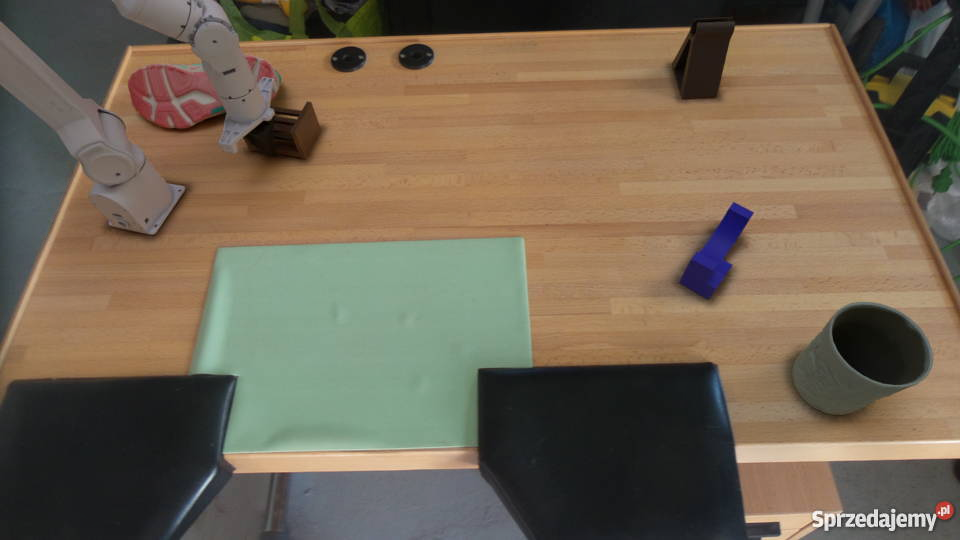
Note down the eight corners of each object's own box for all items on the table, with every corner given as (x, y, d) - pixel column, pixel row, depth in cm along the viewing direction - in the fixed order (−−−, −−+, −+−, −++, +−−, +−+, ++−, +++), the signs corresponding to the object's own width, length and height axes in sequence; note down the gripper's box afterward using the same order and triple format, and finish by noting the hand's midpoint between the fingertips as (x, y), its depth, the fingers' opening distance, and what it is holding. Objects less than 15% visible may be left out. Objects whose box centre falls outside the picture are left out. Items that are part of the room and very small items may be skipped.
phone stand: (671, 65, 103) (690, 3, 93) (704, 64, 103) (727, 2, 93) (681, 99, 98) (702, 38, 88) (716, 98, 98) (741, 37, 88)
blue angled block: (708, 300, 77) (723, 277, 72) (679, 282, 79) (691, 258, 74) (748, 243, 82) (764, 217, 77) (719, 227, 83) (733, 201, 78)
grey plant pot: (885, 386, 70) (951, 345, 60) (841, 440, 67) (903, 407, 57) (811, 330, 74) (861, 284, 64) (766, 379, 71) (811, 338, 61)
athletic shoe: (300, 93, 103) (270, 25, 99) (284, 98, 94) (251, 23, 90) (170, 141, 106) (136, 76, 101) (142, 149, 97) (104, 79, 93)
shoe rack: (305, 159, 93) (294, 132, 88) (249, 150, 94) (235, 123, 89) (321, 129, 96) (311, 101, 91) (266, 121, 98) (254, 93, 93)
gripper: (237, 125, 77) (271, 190, 88) (282, 57, 84) (308, 125, 96) (190, 117, 78) (230, 182, 89) (240, 50, 85) (270, 119, 97)
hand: (268, 152), depth 92 cm, fingers closed
